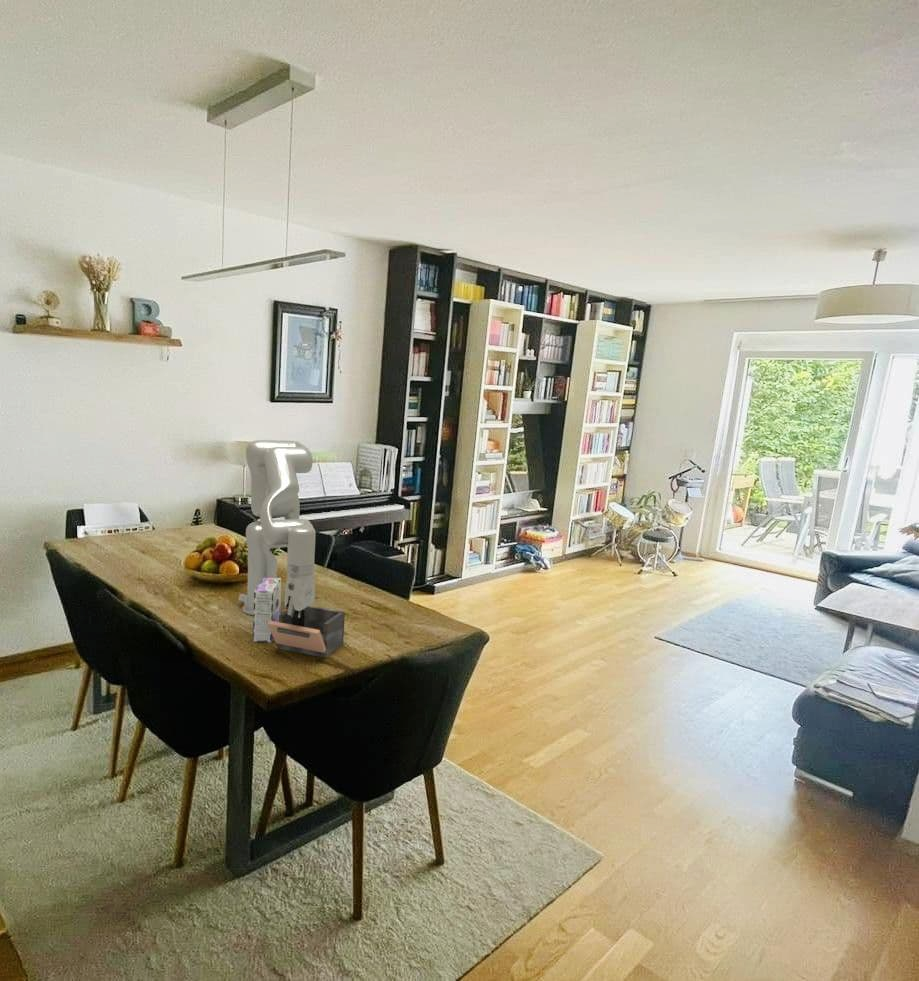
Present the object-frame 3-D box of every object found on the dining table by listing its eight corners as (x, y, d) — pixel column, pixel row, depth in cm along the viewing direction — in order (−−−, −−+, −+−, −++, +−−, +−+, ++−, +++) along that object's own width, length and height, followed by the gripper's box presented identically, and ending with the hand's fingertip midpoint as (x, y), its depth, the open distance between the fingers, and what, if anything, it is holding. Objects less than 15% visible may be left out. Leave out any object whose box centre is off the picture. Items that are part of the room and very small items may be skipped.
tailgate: (274, 645, 182) (266, 625, 177) (277, 639, 184) (269, 620, 178) (323, 654, 178) (316, 635, 173) (326, 649, 180) (319, 629, 174)
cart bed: (277, 648, 185) (278, 615, 183) (297, 634, 195) (298, 603, 194) (326, 658, 181) (327, 624, 179) (343, 643, 191) (344, 611, 190)
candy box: (262, 624, 201) (263, 576, 198) (280, 625, 202) (282, 577, 199) (252, 642, 188) (253, 590, 185) (271, 642, 188) (273, 591, 185)
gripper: (299, 578, 167) (296, 641, 171) (324, 563, 182) (321, 622, 185) (274, 573, 169) (272, 636, 172) (301, 559, 183) (298, 617, 187)
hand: (297, 628), depth 179 cm, fingers closed
